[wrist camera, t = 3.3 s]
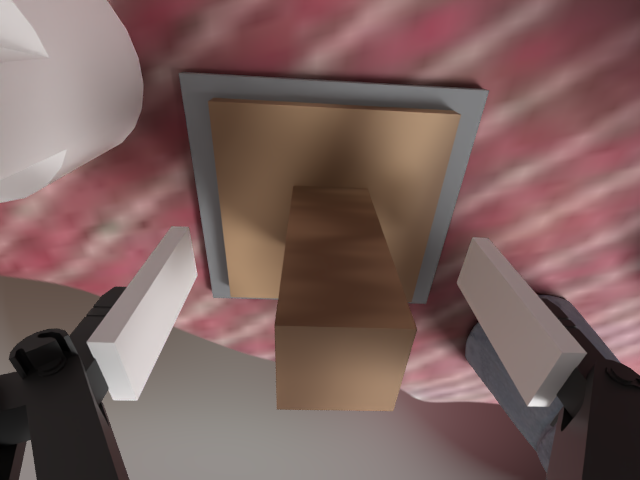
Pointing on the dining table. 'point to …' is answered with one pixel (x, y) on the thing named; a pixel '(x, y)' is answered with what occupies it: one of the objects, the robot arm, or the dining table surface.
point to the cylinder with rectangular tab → (62, 89)
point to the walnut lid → (331, 236)
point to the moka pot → (501, 385)
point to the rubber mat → (210, 86)
